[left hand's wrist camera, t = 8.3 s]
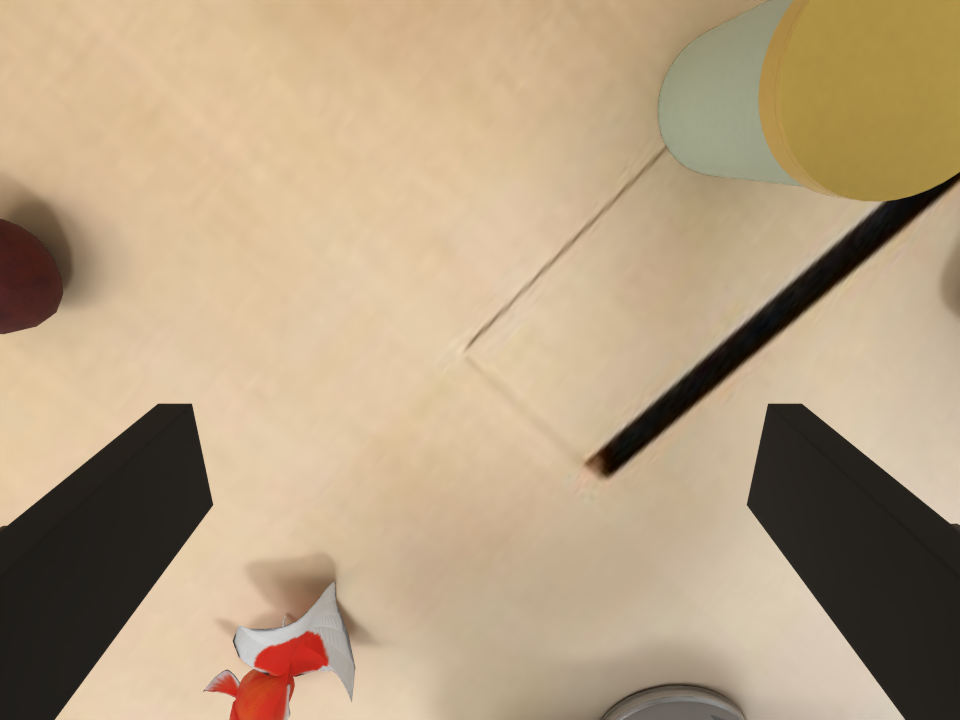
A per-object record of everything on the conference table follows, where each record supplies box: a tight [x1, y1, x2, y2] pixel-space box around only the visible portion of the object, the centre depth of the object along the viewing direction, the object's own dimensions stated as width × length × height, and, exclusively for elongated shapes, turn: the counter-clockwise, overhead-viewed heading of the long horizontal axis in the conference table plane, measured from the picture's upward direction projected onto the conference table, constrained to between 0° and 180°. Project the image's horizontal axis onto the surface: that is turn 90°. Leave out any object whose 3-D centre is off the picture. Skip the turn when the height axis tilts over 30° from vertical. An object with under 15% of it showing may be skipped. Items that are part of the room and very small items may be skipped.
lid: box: [758, 0, 960, 201], centre depth 21 cm, size 9×9×2 cm
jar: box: [658, 0, 805, 187], centre depth 27 cm, size 9×9×15 cm
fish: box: [204, 581, 355, 720], centre depth 46 cm, size 11×16×10 cm
